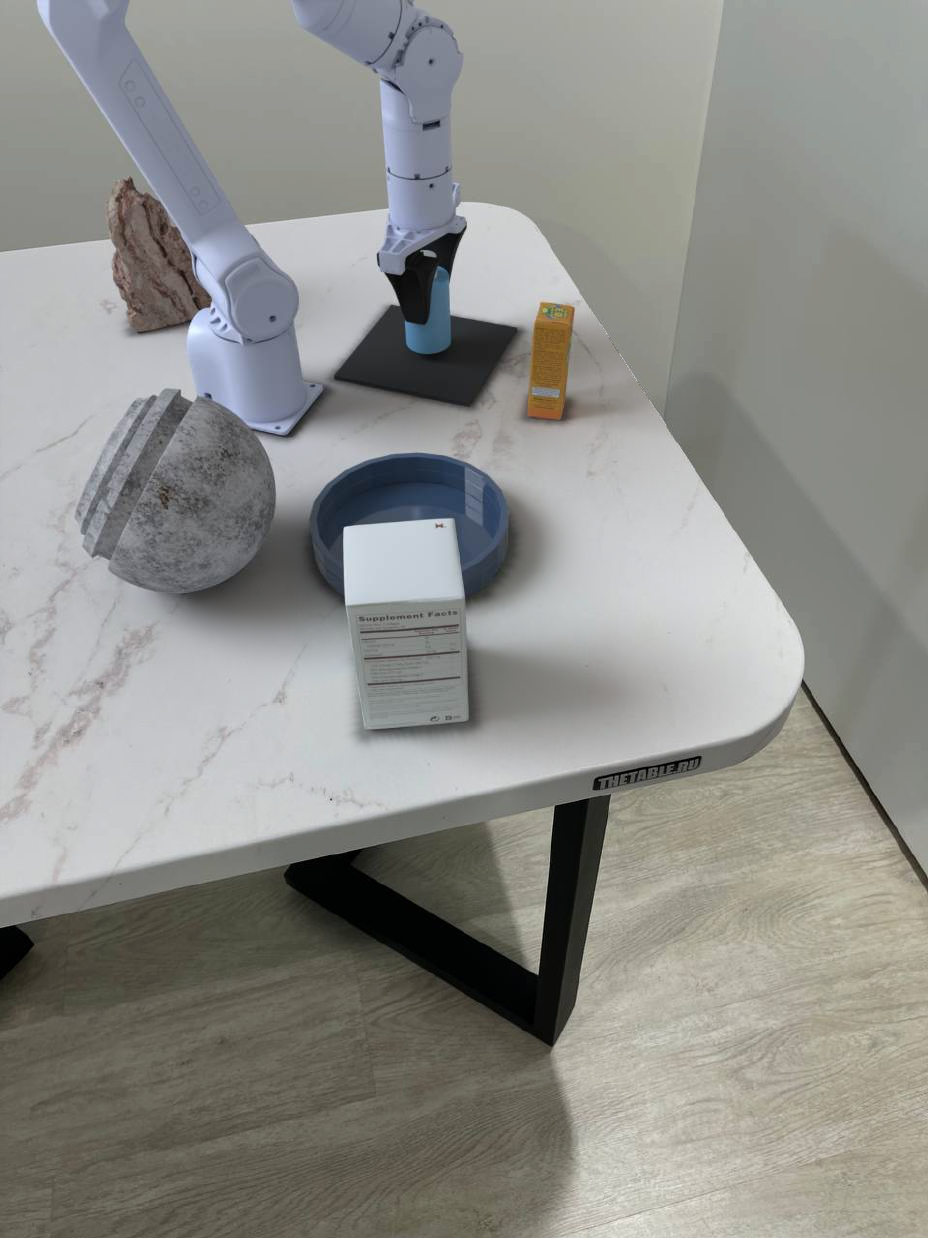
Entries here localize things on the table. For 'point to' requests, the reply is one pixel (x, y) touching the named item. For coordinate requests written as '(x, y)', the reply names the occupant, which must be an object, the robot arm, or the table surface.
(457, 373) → the mat
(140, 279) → the stone
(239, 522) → the decorative orb
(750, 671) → the table surface
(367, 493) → the bowl
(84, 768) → the table surface
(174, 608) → the table surface
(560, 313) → the supplement box
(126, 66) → the robot arm
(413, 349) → the bottle
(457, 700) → the white packaging box
